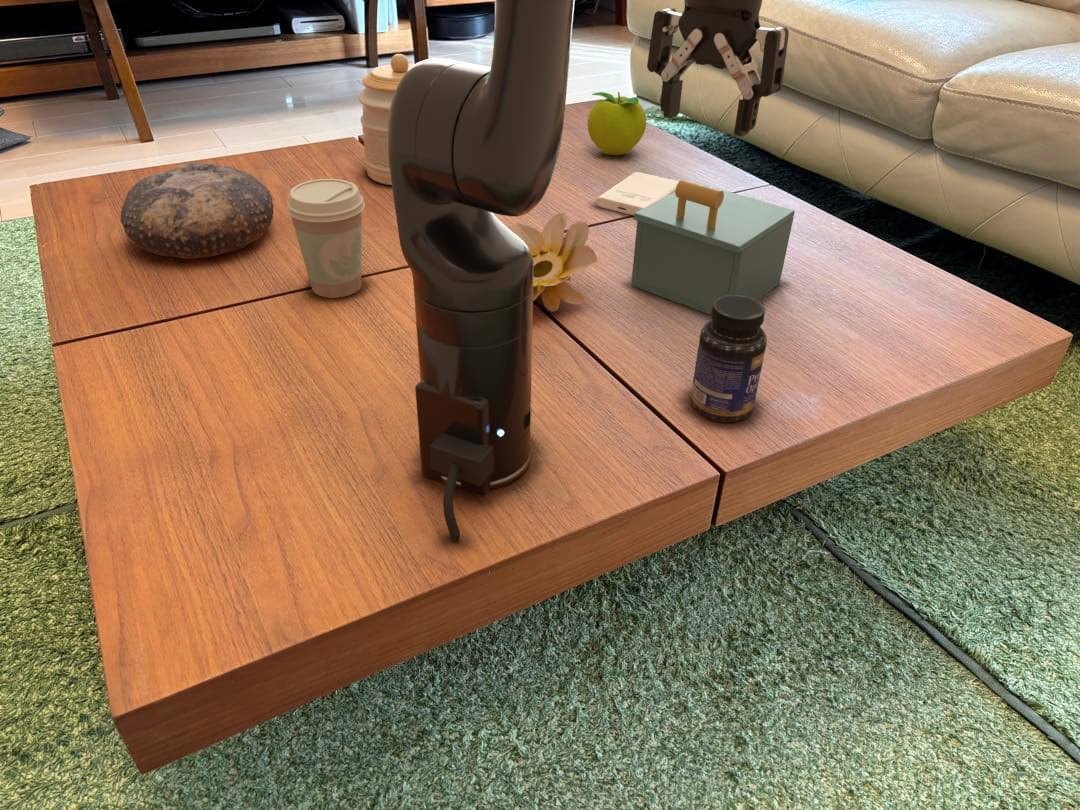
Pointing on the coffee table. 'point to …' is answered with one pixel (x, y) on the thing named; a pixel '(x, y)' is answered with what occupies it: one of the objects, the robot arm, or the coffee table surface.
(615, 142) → the fruit
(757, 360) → the pill bottle
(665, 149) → the coffee table surface
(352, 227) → the coffee cup
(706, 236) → the lid
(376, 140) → the jar
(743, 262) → the chest
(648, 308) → the coffee table surface
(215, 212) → the sea urchin shell
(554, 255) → the decorative flower
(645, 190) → the hard drive
